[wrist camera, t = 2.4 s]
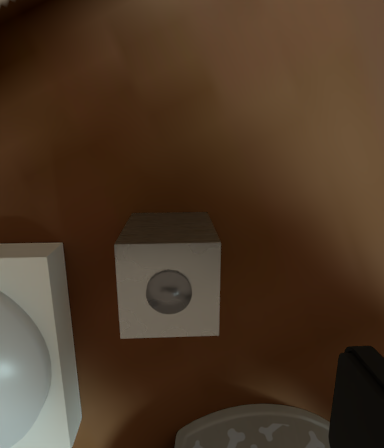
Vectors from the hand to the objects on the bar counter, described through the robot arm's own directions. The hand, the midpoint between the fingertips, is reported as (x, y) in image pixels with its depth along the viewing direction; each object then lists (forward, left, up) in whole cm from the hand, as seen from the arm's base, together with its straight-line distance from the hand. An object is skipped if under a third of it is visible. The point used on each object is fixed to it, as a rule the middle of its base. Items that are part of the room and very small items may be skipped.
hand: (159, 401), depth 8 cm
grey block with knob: (0, 0, -12) cm, 12 cm away
